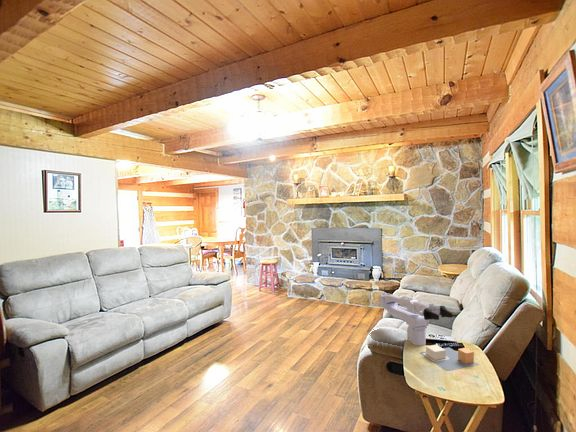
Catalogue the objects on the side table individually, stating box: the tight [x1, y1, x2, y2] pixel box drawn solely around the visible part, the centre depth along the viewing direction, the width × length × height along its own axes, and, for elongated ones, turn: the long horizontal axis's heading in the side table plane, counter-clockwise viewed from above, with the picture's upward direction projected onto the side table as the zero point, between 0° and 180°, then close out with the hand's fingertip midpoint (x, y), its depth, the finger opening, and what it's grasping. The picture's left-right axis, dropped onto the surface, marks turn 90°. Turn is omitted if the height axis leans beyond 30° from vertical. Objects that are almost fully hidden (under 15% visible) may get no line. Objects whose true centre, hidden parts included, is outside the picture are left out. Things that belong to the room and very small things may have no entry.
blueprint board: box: [419, 346, 480, 372], centre depth 146 cm, size 18×18×1 cm
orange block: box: [457, 347, 475, 364], centre depth 143 cm, size 4×4×5 cm
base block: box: [425, 344, 446, 360], centre depth 148 cm, size 6×6×4 cm
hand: (445, 316), depth 144 cm, fingers open, 7 cm apart
